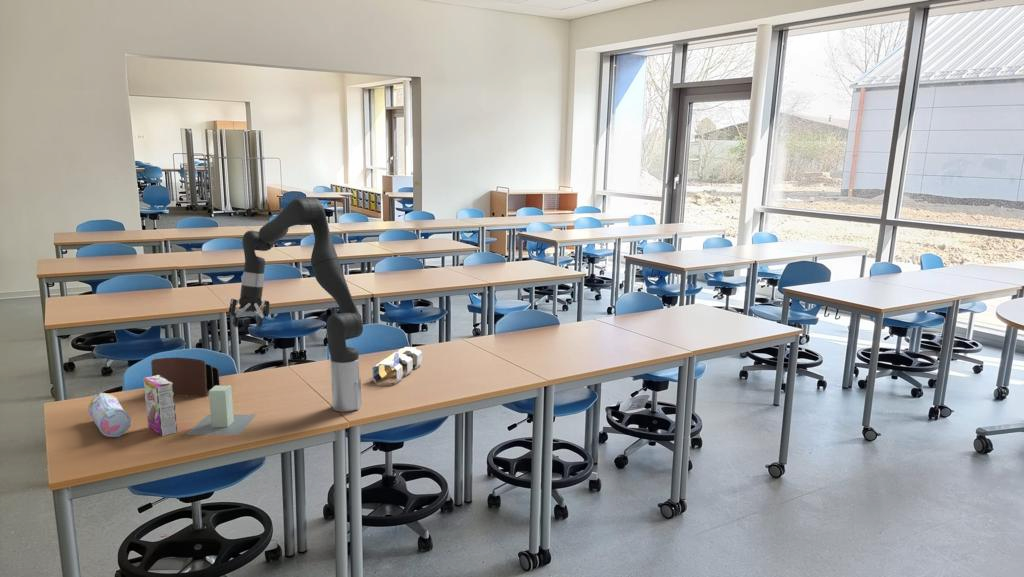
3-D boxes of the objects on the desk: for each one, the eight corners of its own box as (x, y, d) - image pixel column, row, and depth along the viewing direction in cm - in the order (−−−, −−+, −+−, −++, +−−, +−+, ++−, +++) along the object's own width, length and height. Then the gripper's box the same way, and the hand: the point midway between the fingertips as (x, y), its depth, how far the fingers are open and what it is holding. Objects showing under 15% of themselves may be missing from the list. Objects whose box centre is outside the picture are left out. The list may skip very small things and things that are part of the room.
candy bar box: (147, 427, 206) (142, 377, 203) (163, 423, 209) (159, 374, 206) (161, 437, 199) (156, 386, 195) (178, 432, 202) (173, 382, 199)
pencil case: (88, 421, 210) (85, 393, 208) (119, 415, 216) (117, 387, 214) (100, 442, 195) (97, 412, 193) (133, 435, 200) (130, 406, 198)
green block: (233, 421, 211) (231, 385, 209) (227, 427, 206) (225, 390, 204) (218, 421, 211) (215, 385, 209) (211, 427, 206) (208, 390, 204)
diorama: (397, 385, 249) (396, 352, 246) (372, 382, 251) (371, 349, 249) (422, 366, 273) (421, 335, 270) (399, 364, 275) (398, 333, 273)
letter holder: (207, 397, 234) (204, 359, 231) (152, 395, 234) (149, 357, 232) (220, 387, 243) (217, 351, 241) (168, 386, 244) (165, 349, 241)
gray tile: (256, 415, 217) (256, 414, 217) (239, 434, 201) (239, 434, 201) (207, 415, 216) (207, 414, 216) (186, 435, 200) (186, 434, 200)
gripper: (237, 284, 237) (232, 328, 238) (275, 287, 247) (269, 329, 248) (229, 281, 242) (224, 325, 243) (266, 284, 252) (261, 325, 253)
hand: (247, 327), depth 246 cm, fingers open, 8 cm apart
